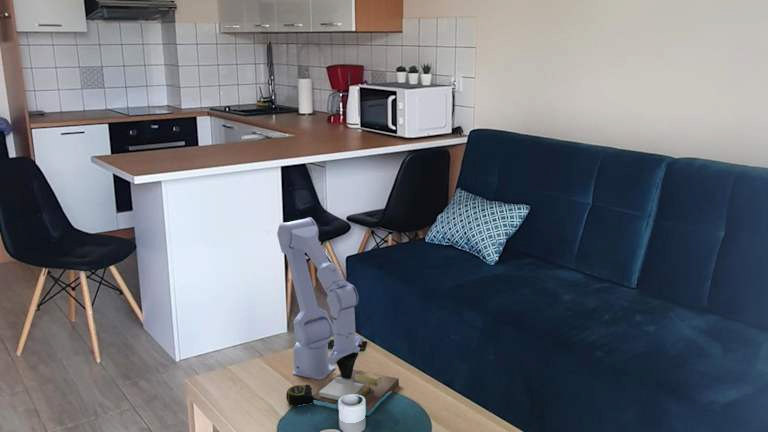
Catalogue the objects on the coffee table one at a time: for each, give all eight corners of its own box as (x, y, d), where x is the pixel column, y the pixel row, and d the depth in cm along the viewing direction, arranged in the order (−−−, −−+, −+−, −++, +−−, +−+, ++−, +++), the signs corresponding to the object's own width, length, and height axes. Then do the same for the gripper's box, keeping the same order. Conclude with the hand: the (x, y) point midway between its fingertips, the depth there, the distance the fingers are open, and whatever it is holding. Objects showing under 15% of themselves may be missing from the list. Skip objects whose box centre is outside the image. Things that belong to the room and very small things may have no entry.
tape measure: (313, 408, 180) (313, 394, 179) (287, 410, 179) (286, 397, 178) (312, 395, 187) (311, 382, 186) (286, 397, 186) (285, 385, 185)
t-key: (371, 400, 178) (370, 383, 177) (349, 393, 182) (348, 377, 181) (381, 392, 182) (381, 376, 181) (359, 385, 186) (359, 370, 184)
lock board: (313, 404, 182) (313, 396, 181) (347, 374, 197) (347, 367, 197) (368, 416, 175) (367, 409, 174) (398, 385, 190) (398, 377, 190)
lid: (319, 396, 181) (319, 388, 181) (335, 382, 188) (334, 375, 188) (349, 402, 177) (349, 394, 177) (364, 388, 184) (364, 381, 184)
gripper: (343, 344, 175) (346, 393, 178) (370, 323, 188) (372, 369, 191) (319, 339, 178) (322, 388, 181) (347, 319, 191) (349, 365, 194)
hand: (346, 378), depth 186 cm, fingers closed
